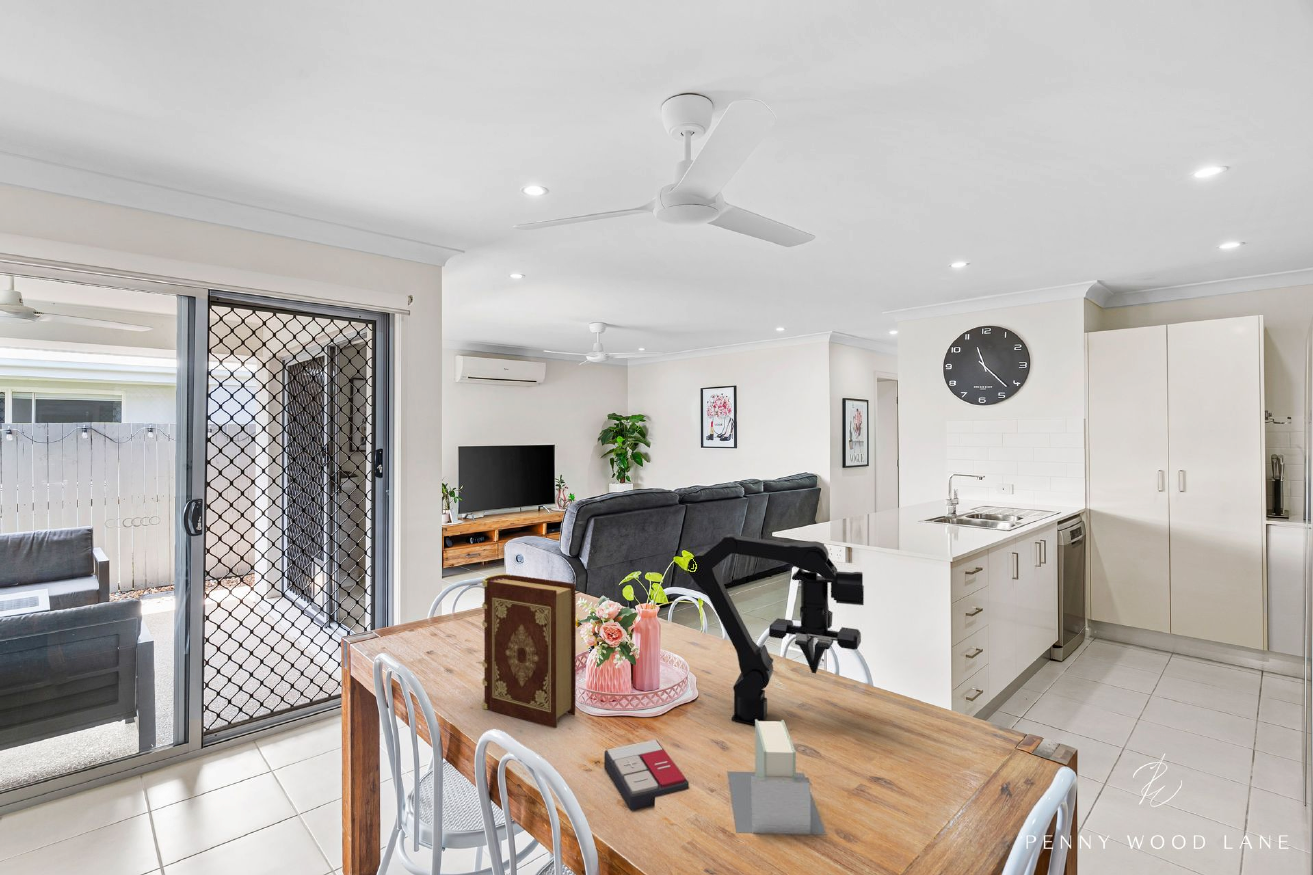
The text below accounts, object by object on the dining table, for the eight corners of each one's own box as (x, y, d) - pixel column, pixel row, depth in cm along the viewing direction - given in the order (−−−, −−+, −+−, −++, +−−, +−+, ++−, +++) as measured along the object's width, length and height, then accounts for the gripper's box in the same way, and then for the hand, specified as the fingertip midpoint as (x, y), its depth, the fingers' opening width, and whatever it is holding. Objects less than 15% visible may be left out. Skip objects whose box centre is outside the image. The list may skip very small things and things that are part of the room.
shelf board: (727, 779, 114) (727, 771, 114) (803, 780, 113) (803, 772, 113) (736, 841, 96) (736, 832, 96) (826, 843, 96) (826, 834, 96)
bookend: (751, 826, 98) (751, 776, 98) (808, 827, 97) (808, 777, 97) (752, 832, 96) (752, 781, 96) (810, 834, 96) (810, 782, 96)
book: (755, 787, 109) (755, 719, 108) (783, 787, 108) (783, 719, 108) (763, 826, 98) (763, 751, 98) (795, 827, 97) (795, 751, 97)
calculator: (631, 792, 104) (603, 746, 118) (630, 817, 104) (603, 768, 118) (689, 778, 108) (656, 735, 122) (689, 802, 108) (656, 756, 122)
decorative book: (477, 707, 144) (477, 579, 144) (500, 694, 151) (500, 572, 151) (554, 729, 133) (554, 590, 133) (576, 714, 140) (576, 582, 140)
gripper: (864, 597, 137) (864, 667, 137) (782, 587, 145) (782, 653, 145) (856, 610, 127) (856, 685, 127) (768, 599, 135) (768, 670, 135)
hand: (814, 672), depth 134 cm, fingers closed
